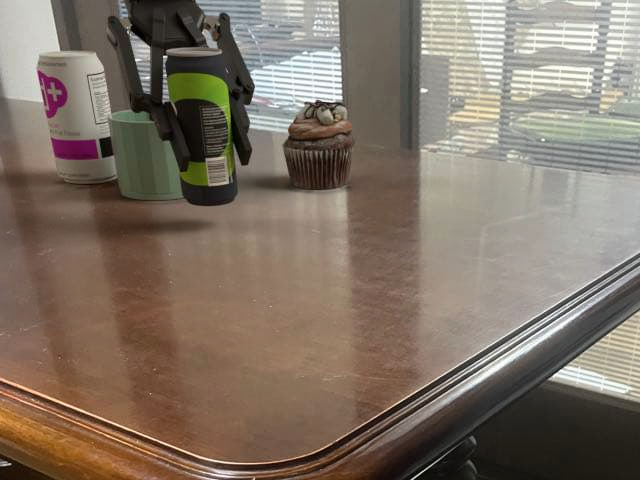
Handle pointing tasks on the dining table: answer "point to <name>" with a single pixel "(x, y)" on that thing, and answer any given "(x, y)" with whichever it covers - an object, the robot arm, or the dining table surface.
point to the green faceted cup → (143, 158)
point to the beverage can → (203, 124)
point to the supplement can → (77, 115)
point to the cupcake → (319, 146)
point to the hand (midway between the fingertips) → (216, 160)
